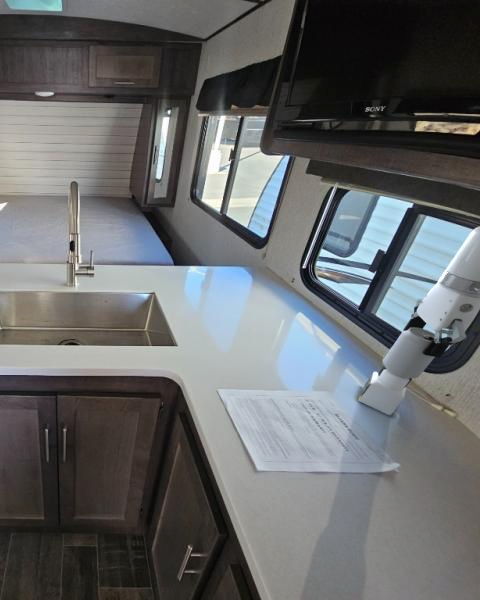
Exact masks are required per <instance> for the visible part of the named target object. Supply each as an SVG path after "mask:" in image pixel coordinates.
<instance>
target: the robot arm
mask: <svg viewBox="0 0 480 600" xmlns="http://www.w3.org/2000/svg"><path fill="white" fill-rule="evenodd" d="M479 311H480V226H477V227H475V228H473V230H472V231H471V232H470V234H468V236H467V238H466V239H465V241H464V242H463V244H462V245H461V246H460V248H459V249H458V251H457V252H456V254H455V256H454V257H453V258H452V260H451V261H450V262H449V264H448V265H447V267H446V269H445V270H444V272H443V273H442V275H441V276H440V278H439V279H438V280H437V282H436V283H435V284H434V285H433V287H432V288H430V290H429V291H428V293H427V294H426V295H425V296H424V298H423V297H422V298H417V300H416V304H415V306H414V307H413V312H412V314H411V315H410V319H409V321H408V322H407V323H406V325H405V326H404V328H403V329H402V332H403V331H407V330H408V329H409V328H413V327H414V328H421V329H424V328H425V327H426V325H428V327H430V328H431V329H432V330H433V331H434V333H435V340H431V341H430V343H429V344H428V345H427V347H426V348H425V349H424V351H423V352H422V353H423V354H424V355H428V356H432V357H434V358H441V357H442V356H443V354H444V353H445V352H446V351H447V349H448V348H449V347H452V346H454V345H457V344H459V343H460V342H461V341H463V340H465V339H466V338H467V333H466V331H467V329H468V328H469V327H470V325H471V324H472V322H474V319H475V318H476V317H477V315H478V313H479ZM443 334H444V335H446V337H445V336H444V337H443Z"/></svg>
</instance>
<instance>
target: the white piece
mask: <svg viewBox="0 0 480 600" xmlns="http://www.w3.org/2000/svg"><path fill="white" fill-rule="evenodd" d="M412 380H413V378H403V377H400V376H397V375H395V374H393V373H392V372H390V371H389V370H388V369H386V367H385V365H384V364H383V366H382V367H381V368H380V370H378V372H377V371H373V372H372V373H371V375H370V376H369V378H368V380H367V381H366V382H365V384H364V386H363V387H362V389H361V392H360V394H359V398H358V402H360V403H363V404H364V405H367V406H369V407H370V408H372V409H375V410H376V411H379V412H381V413H383V414H385V415H388V416H391V415H392V414H394V412H395V411H396V410H397V408H398V407H399V405H400V404H401V403H402V402H403V401H404V400H405V396H406V392H407V391H406V390H407V386H408V385H409V384H410V382H411V381H412Z"/></svg>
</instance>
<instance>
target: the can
mask: <svg viewBox="0 0 480 600" xmlns="http://www.w3.org/2000/svg"><path fill="white" fill-rule="evenodd" d="M431 340H435V332H432V331H431V330H428V329H424V328H423V329H421V328H414V327H413V328H409V329H408V330H407V331H403V330H402V332H401V334H399V336H398V337H397V339H396V341H395V342H394V344H393V345H392V346H391V348H390V350H388V352H387V354H386V355H385V356H384V358H383V359H382V364H383V366H384V365H385V367H386V369H388V370H389V371H390V372H392V373H393V374H395V375H397V376H400V377H403V378H412V379H418V378H419V377H420V376H421V375H422V373H423V372H424V371H425V370H426V369H427V367H428V366H429V365H430V364H431V362H433V360H434V359H435V357H432V356H428V355H424V354H423V353H422V352H423V351H424V349H425V348H426V347H427V345H428V344H429V343H430V341H431Z"/></svg>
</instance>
